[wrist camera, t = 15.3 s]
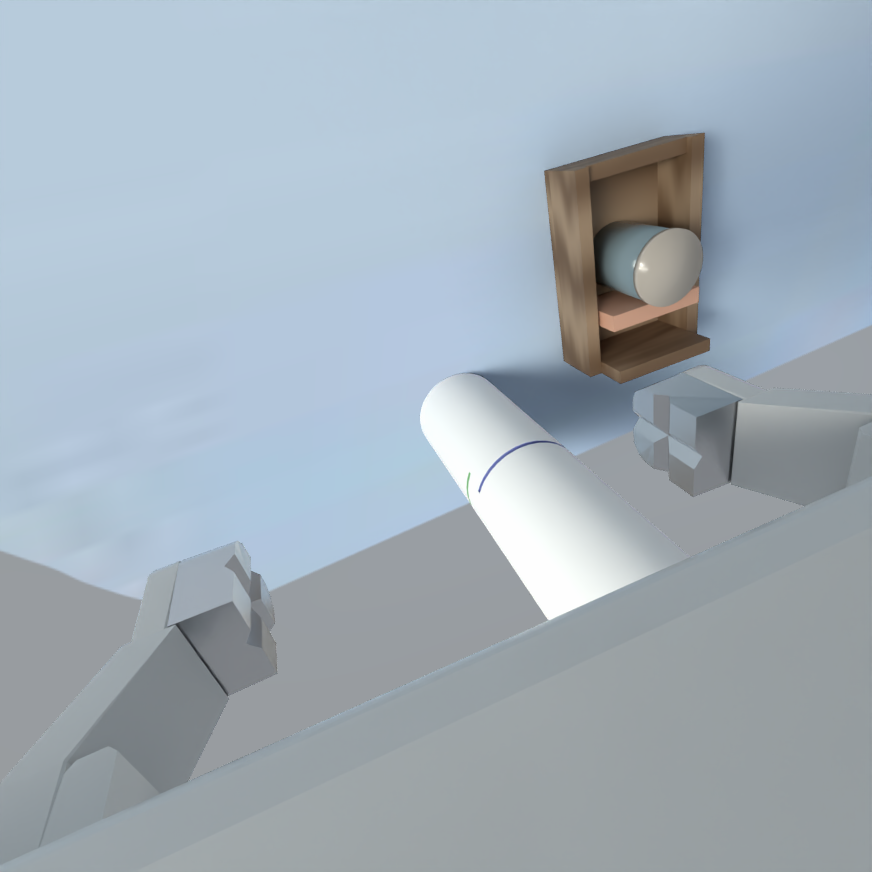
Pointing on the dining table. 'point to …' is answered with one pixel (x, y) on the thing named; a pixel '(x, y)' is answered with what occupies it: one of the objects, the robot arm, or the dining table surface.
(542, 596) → the cylindrical container
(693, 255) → the jar
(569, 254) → the brown wooden open box
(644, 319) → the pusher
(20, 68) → the dining table surface
